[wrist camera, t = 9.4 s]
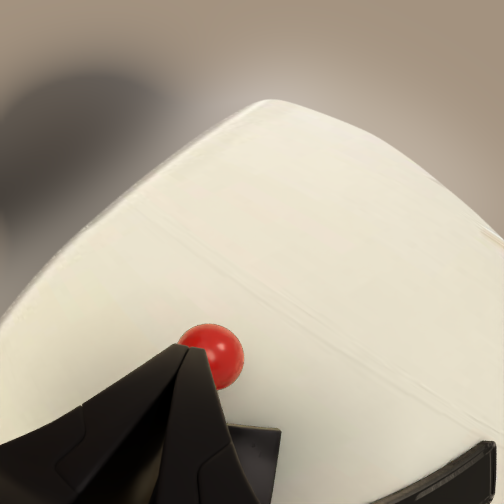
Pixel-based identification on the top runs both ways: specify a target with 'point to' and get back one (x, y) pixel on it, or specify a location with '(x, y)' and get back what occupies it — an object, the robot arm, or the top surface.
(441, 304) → the top surface
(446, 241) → the top surface
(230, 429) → the bracket
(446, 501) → the phone
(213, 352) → the lever
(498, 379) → the top surface
